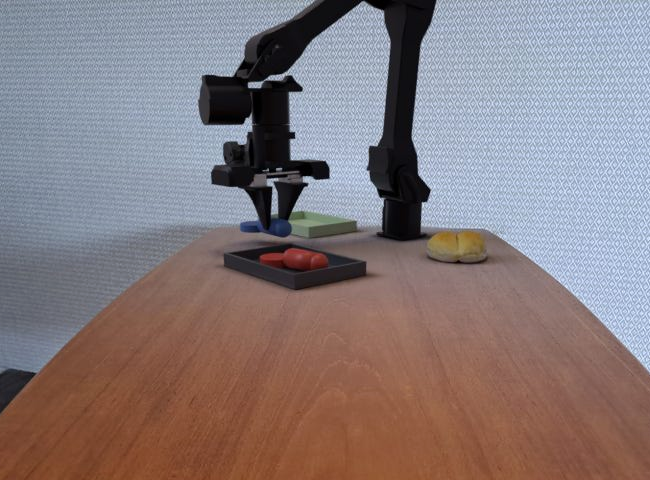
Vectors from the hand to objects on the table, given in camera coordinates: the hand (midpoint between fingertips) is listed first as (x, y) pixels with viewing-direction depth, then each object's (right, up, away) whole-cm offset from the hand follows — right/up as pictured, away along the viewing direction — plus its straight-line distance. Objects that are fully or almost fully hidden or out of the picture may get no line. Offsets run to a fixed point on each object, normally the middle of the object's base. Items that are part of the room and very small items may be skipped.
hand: (274, 228), depth 107 cm
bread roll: (+28, -6, -6) cm, 29 cm away
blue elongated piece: (-2, 0, +2) cm, 3 cm away
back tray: (+4, +4, +18) cm, 19 cm away
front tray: (+4, -8, -13) cm, 16 cm away
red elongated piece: (+4, -8, -14) cm, 17 cm away
